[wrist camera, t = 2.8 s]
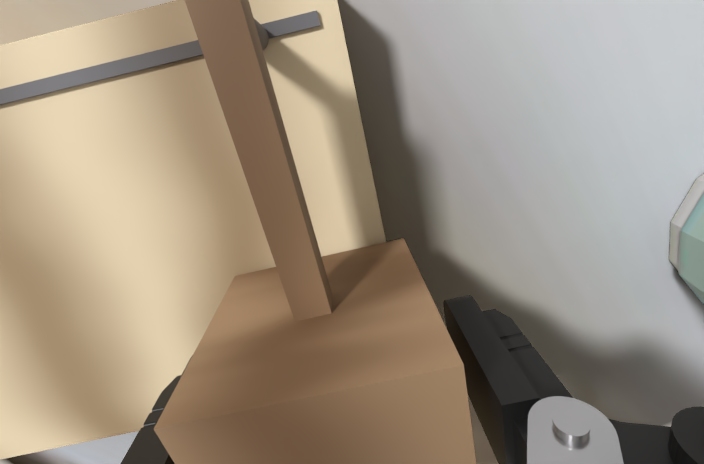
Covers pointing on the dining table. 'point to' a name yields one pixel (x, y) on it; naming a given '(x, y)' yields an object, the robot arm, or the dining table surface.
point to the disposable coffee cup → (690, 239)
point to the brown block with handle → (309, 316)
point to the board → (148, 205)
